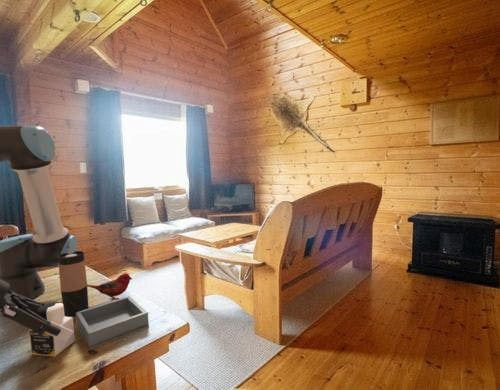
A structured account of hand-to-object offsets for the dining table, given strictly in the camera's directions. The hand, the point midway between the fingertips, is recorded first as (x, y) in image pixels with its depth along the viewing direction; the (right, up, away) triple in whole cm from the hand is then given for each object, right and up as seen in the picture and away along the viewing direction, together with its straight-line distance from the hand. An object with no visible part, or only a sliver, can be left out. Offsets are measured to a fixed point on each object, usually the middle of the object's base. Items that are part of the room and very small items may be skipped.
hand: (65, 328), depth 83 cm
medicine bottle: (-2, -5, -2) cm, 5 cm away
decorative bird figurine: (0, -2, +26) cm, 27 cm away
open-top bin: (+9, -3, +8) cm, 13 cm away
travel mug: (-8, -3, +19) cm, 20 cm away
